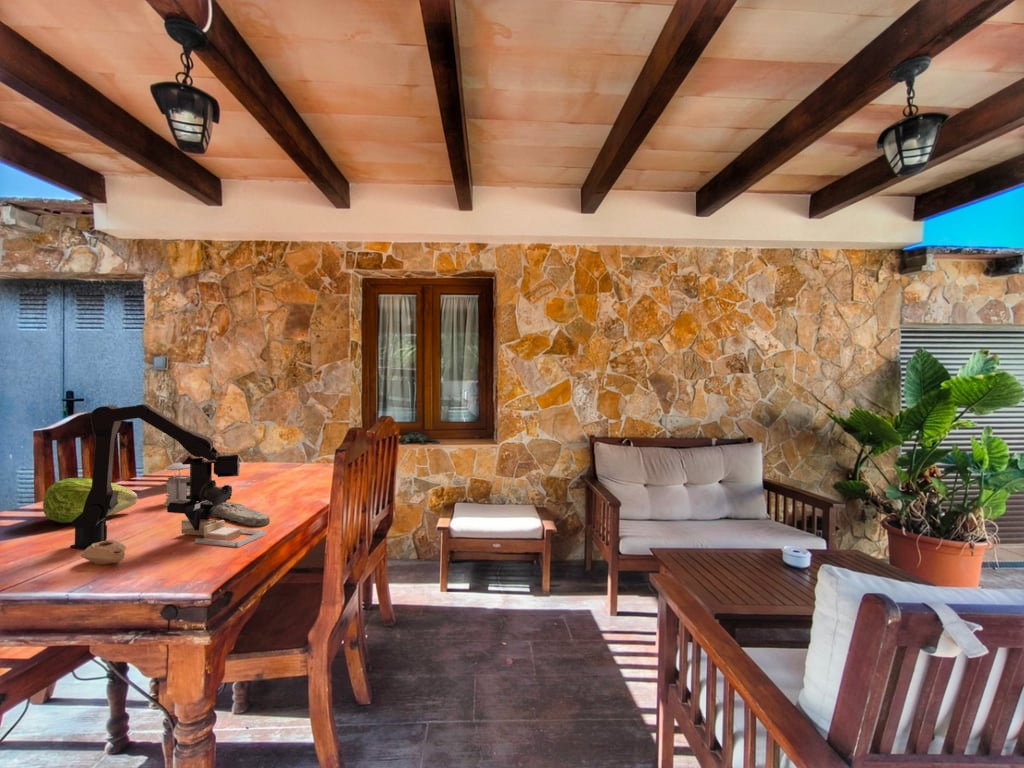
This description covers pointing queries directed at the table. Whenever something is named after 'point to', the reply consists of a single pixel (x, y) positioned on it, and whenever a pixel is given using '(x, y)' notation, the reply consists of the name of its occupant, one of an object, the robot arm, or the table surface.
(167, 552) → the table surface
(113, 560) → the pottery oil lamp
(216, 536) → the tile
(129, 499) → the lettuce
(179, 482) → the french press
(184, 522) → the pusher
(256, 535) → the bay
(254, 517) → the elongated rock
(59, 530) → the table surface
